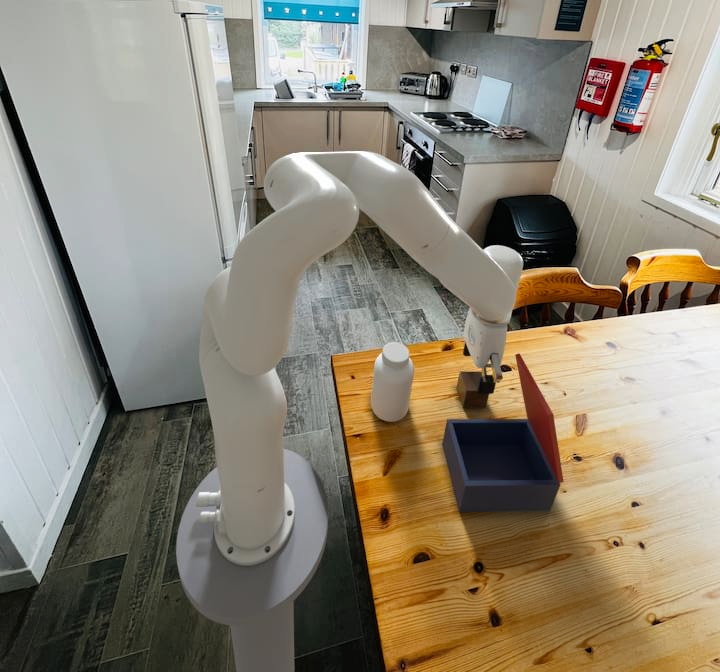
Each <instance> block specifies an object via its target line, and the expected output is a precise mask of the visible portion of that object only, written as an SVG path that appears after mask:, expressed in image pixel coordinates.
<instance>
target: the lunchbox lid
mask: <svg viewBox="0 0 720 672" xmlns="http://www.w3.org/2000/svg"><path fill="white" fill-rule="evenodd" d="M514 356H515V361H516V366H517V371H518V377H519V381H520V387H521V393H522V398H523V402H524V409H525V413H526V419H528V420H529V422H530V424H531V427H532V429H533V431H534V433H535V435H536V437H537V439H538V441H539V443H540V445H541V447H542V449H543V451H544V454H545V456H546V458H547V460H548V462H549V464H550V466H551V468H552V470H553V472H554V474H555V476H556V478H557V480H558V483H560V484H563V483H564V482H565V481H564V476H563V470H562V463H561V455H560V449H559V442H558V436H557V430H556V422H555V417H554V412H553V411H552V409H551V407H550V406H549V404H548V402H547V400H546V398H545V396H544V394H543V393H542V391H541V389H540V387H539V386H538V383H537V382H536V380H535V379H534V376H533V375H532V373H531V372H530V371H531V370H529V367H528V365H527V364H526V363H525V360H524V358H523V357H522V355H521V353H515V355H514Z"/></svg>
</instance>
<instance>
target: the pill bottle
mask: <svg viewBox="0 0 720 672" xmlns="http://www.w3.org/2000/svg"><path fill="white" fill-rule="evenodd" d="M381 351H382V352H381V353H380V354H379V355H378V356H377V358H376V359H375V361H374V366H373V375H372V385H371V393H370V394H371V395H370V406H371V410H372V412H373V413H374V415H375V416H376V418H378V419H380V420H382V421H384V422H388V423H396V422H398V421H401V420H402V419H403V418H405V417H406V415H407V413H408V410H409V407H410V401H411V394H412V389H413V381H414V375H415V366H414V363H413V361H412V359H411V358H410V350H409V349H408V347H407V346H406V345H405V344H403V343H401V342H399V341H391V342H388V343H386V344H385V345H384V346H383V347H382V350H381Z"/></svg>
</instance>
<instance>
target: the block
mask: <svg viewBox="0 0 720 672" xmlns="http://www.w3.org/2000/svg"><path fill="white" fill-rule="evenodd" d="M458 373H459V374H458V378H457V381H456V382H457V383H456V387H455V388H456V389H455V390H456V392H457V395H458V399H459V402H460V405H461V407H462V409H486V408H487V405H488V401H489V398H490V397H489V396H490V394H478V392H477V389H478V384H479V380H480V377H482V371H473V370H472V371H469V370H467V371H464V370H463V371H462V370H461V371H459V372H458Z"/></svg>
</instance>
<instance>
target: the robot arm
mask: <svg viewBox="0 0 720 672" xmlns="http://www.w3.org/2000/svg"><path fill="white" fill-rule="evenodd" d="M263 190H264V196H265V198H266V200H267V202H268V204H269V205H270V206H271V208H272V209H273V210H274V212H273V213H271V214H269V215H268V216H267V217H265V218H264V219H262V220H261V221H260V222H259V223H258V224H256V225H254V227H253V228H252V229H250V230H249V231H248V232H247V233H246V234H245V235H244V236H243V237H242V238H241V239H240V241H239V242H238V244H237V245H236V247H235V249H234V251H233V255H232V259H231V264H230V266H228V267H227V268H224V269H223V270H222V271H220V272H219V273H218V274H216V275H215V276H214V277H213V279H212V280H211V282H210V283H209V285H208V287H207V288H206V291H205V294H204V297H203V303H202V313H201V323H200V333H199V335H200V336H199V346H198V347H199V348H198V360H199V361H198V363H199V369H200V372H201V378H202V382H203V386H204V387H203V388H204V390H205V391H204V392H205V397H206V401H207V407H208V410H209V416H210V421H211V426H212V433H213V439H214V454H215V456H214V457H215V461H216V462H215V463H216V467H217V470H218V478H219V486H220V490H219V492H216V493H211V492H199V494H198V497H197V502H196V506H197V507H208V506H216V509H217V511H216V512H210V511H202V512H201V514H200V519H199V522H200V523H208V522H214V535H215V540H216V544H217V546H218V549H219V550H220V552H221V553H222V555H223V556H224V557H225V558H226V559H227V560H228V561H230V562H232V563H234V564H237V565H242V566H252V565H256V564H260V563H262V562H264V561H266V560H268V559H269V558H271V557H272V556H273V555H275V554H276V553H277V552H278V551H279V550H280V549H281V548H282V546H283V545H284V543H285V542H286V540H287V539H288V537H289V535H290V532H291V530H292V527H293V523H294V517H295V505H294V498H293V495H292V492H291V490H290V489H289V487H288V486H287V484H286V483H285V482H284V449H285V448H284V446H285V445H284V431H285V430H284V429H285V425H286V420H287V416H288V402H287V397H286V393H285V390H284V387H283V385H282V382H281V379H280V378H279V375H278V373H277V370H276V369H275V368H276V367H277V366H278V365H279V363H280V362H281V360H282V359H283V358H284V356H285V354H286V351H287V348H288V347H289V346H288V345H289V342H290V338H291V333H292V332H291V331H292V326H293V319H294V313H295V308H296V303H297V296H298V292H299V287H300V284H301V280H302V277H303V276H304V274H305V272H306V271H307V270H308V268H309V267H310V266H311V265H312V264H314V263H315V262H316V261H317V260H319V259H320V258H322V257H323V256H325V255H327V254H328V253H330V252H331V251H333V250H334V249H336V248H338V247H340V245H342V244H343V243H344V242H345V241H346V240H348V239H349V237H351V236H352V234H353V232H354V230H355V229H356V227H357V225H358V223H359V219H360V218H359V217H360V211H362V212H363V213H364V214H365V215H367V217H368V218H370V219H371V220H372V221H373V222H374V224H376V225H377V226H378V227H379V228H381V230H382V231H383V232H385V233H386V234H387V235H388V236H389V237H390V239H392V240H393V241H394V242H395V243H396V244H397V245H398V246H399V247H400V248H401V249H402V250H403V251H404V252H406V253H407V254H408V256H410V258H411V259H413V260H414V261H415V262H416V263H418V264H419V266H421V267H422V268H423V269H424V270H425V271H427V272H428V273H429V274H430V275H432V277H434V278H436V279H438V281H439V282H440V283H441V285H442V286H443V287H444V288H446V290H448V291H449V292H450V293H452V295H454V296H455V297H456V298H458V299H459V300H460V301H461V302H462V303H464V304H465V305H466V306H467V307H469V308H468V310H467V311H468V312H467V315H466V319H465V323H464V327H463V332H462V335H463V340H464V345H463V351H462V355H463V356H464V357H471V360H472V362H473V364H474V365H475V366H476V368H478V369H481V372H482V377H480V380H479V384H478V389H477V392H478V394H489V395H493V394H494V393H495V388H496V385H497V384H499V383H501V381H503V379H504V375H503V372H502V368H501V365H502V362H503V360H504V359H503V358H504V353H505V349H506V344H507V343H506V342H507V335H508V324H509V323H510V321H511V318H512V313H513V310H514V308H515V305H516V301H517V293H518V289H519V284H520V281H521V278H522V277H521V276H522V273H523V268H524V260H523V257H522V256H521V254H520V253H519V252H517V251H516V250H515V249H513V248H511V247H508V246H505V245H499V244H496V245H489V246H487V247H485V248H481V246H479V245H478V244H477V243H476V242H475V240H473V238H472V237H471V236H470V235H469V234H467V232H466V231H465V230H463V229H462V228H461V227H460V226H459V225H458V224H457V223H456V222H455V221H454V220H453V218H452V217H450V215H449V214H448V212H447V211H446V210H445V208H443V206H442V205H441V204H440V202H438V200H437V199H436V198H435V197H434V195H433V194H432V193H431V192H430V190H429V189H428V188H427V187H426V186H425V185H424V183H423V182H422V181H421V179H420V178H418V176H417V175H416V174H414V172H412V171H411V170H409V169H407V168H406V167H404V166H403V165H400V164H399V163H396V162H395V161H393V160H391V159H389V158H388V157H385V156H384V155H382V154H380V153H376V152H373V151H361V150H360V151H358V150H357V151H355V150H354V151H353V150H351V151H322V152H320V151H317V152H316V151H315V152H313V151H312V152H296V153H291V154H287V155H284V156H282V157H280V158H278V159H277V160H275V161H274V162H273V163H272V164H271V165H270V166H269V168H268V169H267V171H266V173H265V176H264V178H263ZM487 368H489V369H491V371H492V374H488V373H487ZM289 515H291V516H289ZM267 551H269V552H268V553H266V552H267ZM230 552H232V553H231V554H229V553H230Z"/></svg>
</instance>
